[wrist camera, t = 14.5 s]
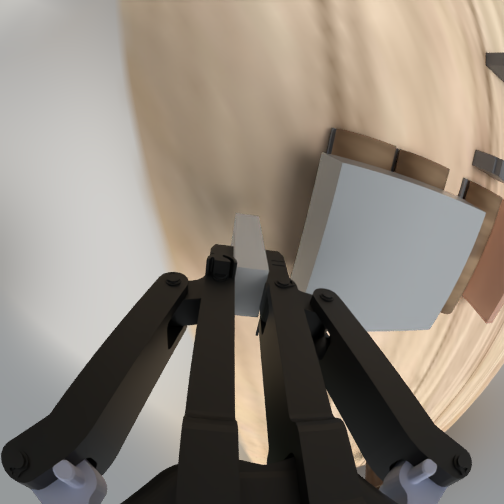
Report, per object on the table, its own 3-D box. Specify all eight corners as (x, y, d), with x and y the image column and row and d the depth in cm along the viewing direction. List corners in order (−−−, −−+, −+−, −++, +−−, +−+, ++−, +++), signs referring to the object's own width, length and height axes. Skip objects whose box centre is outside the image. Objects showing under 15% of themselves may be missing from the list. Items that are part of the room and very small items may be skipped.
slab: (321, 152, 17) (342, 162, 13) (457, 196, 19) (486, 212, 15) (285, 296, 23) (292, 329, 19) (411, 304, 24) (429, 329, 21)
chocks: (332, 127, 21) (333, 128, 21) (484, 188, 24) (486, 189, 23) (293, 282, 28) (293, 284, 28) (441, 293, 31) (443, 295, 31)
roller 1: (328, 126, 21) (350, 131, 17) (378, 142, 22) (408, 150, 17) (290, 280, 29) (299, 312, 24) (334, 285, 29) (349, 315, 25)
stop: (502, 199, 24) (535, 219, 18) (507, 202, 24) (539, 222, 18) (462, 294, 32) (486, 323, 26) (468, 295, 32) (492, 322, 26)
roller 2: (390, 146, 22) (423, 157, 17) (426, 160, 23) (459, 173, 18) (345, 286, 29) (363, 317, 25) (380, 288, 30) (401, 315, 26)
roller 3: (463, 177, 23) (491, 191, 19) (482, 187, 24) (507, 201, 20) (418, 291, 31) (437, 314, 26) (439, 292, 31) (457, 313, 27)
